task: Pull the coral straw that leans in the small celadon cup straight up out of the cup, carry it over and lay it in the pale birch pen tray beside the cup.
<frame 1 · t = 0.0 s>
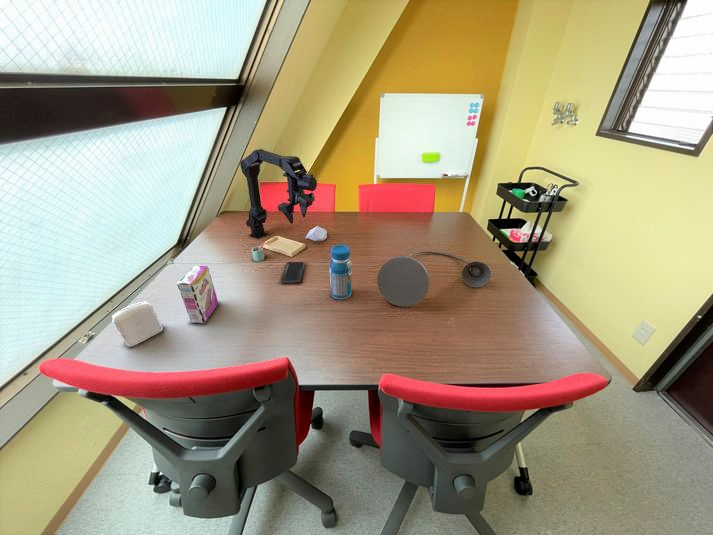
hand: (298, 220, 135), 15 cm above the table, tool pointing down, fingers open, 9 cm apart
cup: (258, 258, 134), on the table, touching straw
beverage bottle: (341, 294, 112), on the table
tray: (283, 247, 143), on the table
candy bar box: (206, 313, 102), on the table
phone: (293, 273, 124), on the table
photo printer: (145, 337, 92), on the table
crumpled paper: (317, 239, 152), on the table
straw: (259, 249, 130), point 5 cm above the table, touching cup
desk lamp: (436, 280, 121), on the table
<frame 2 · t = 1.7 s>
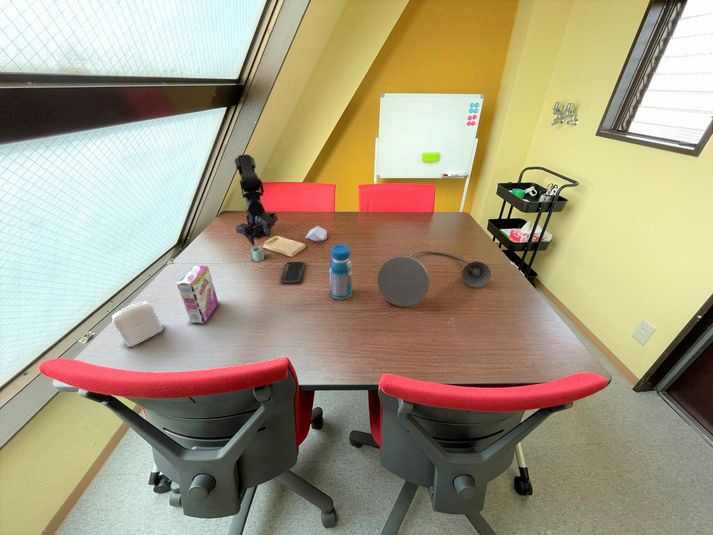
hand: (261, 240, 127), 10 cm above the table, tool pointing down, fingers open, 9 cm apart
nothing on the table moved.
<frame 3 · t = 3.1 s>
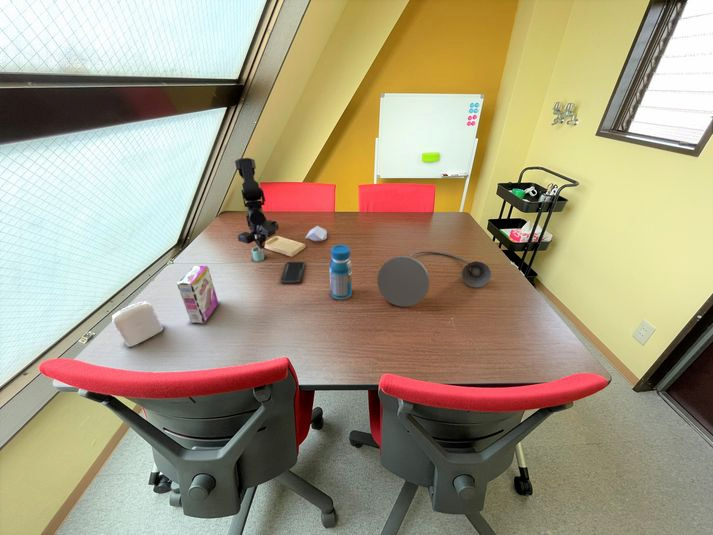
hand: (262, 248, 129), 6 cm above the table, tool pointing down, fingers closed on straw, 1 cm apart
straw: (259, 249, 130), point 5 cm above the table, touching cup, gripper
everything else where it was.
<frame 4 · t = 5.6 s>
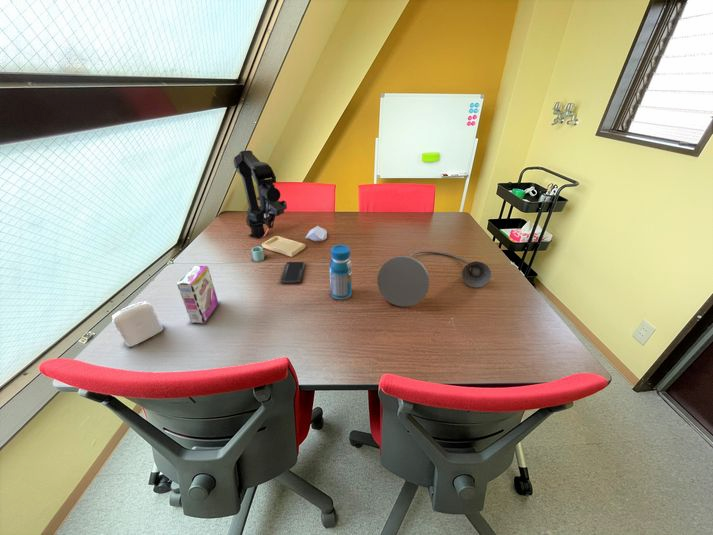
hand: (270, 228, 132), 13 cm above the table, tool pointing down, fingers closed on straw
cup: (258, 258, 134), on the table
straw: (268, 229, 133), point 12 cm above the table, touching gripper
everything else where it was.
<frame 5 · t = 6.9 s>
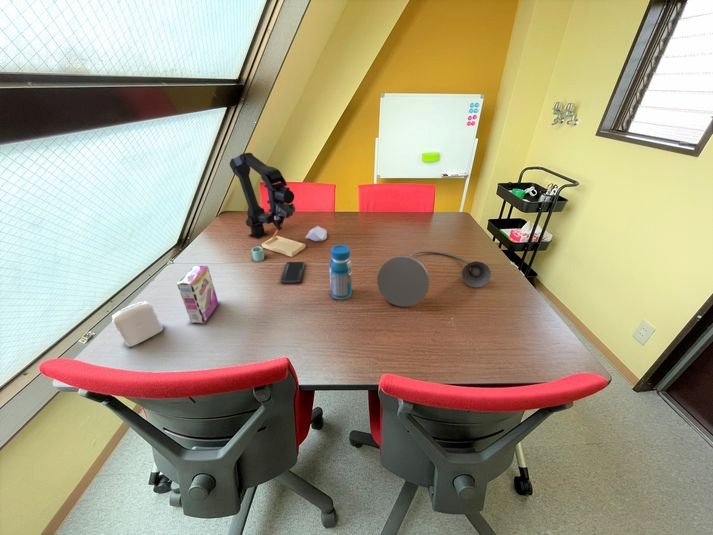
hand: (279, 229, 138), 9 cm above the table, tool pointing down, fingers closed on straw
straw: (277, 230, 140), point 8 cm above the table, touching gripper
everything else where it was.
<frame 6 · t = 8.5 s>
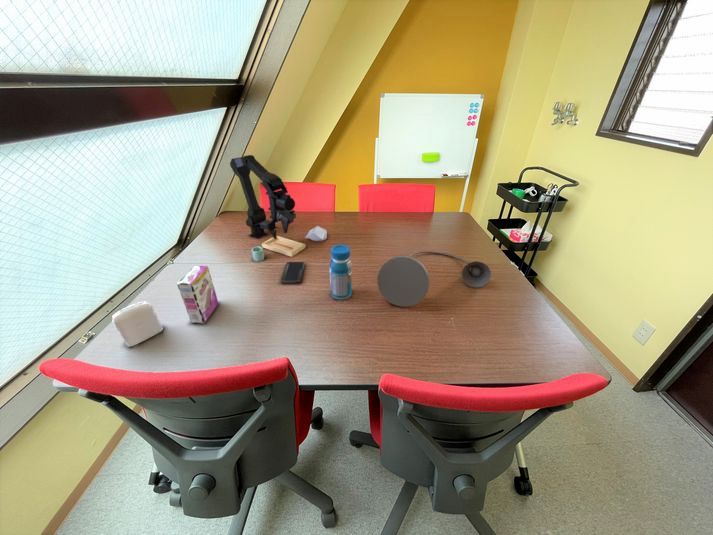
hand: (280, 235, 140), 6 cm above the table, tool pointing down, fingers open, 7 cm apart
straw: (283, 245, 143), point 1 cm above the table, tilted 54°, touching tray
everything else where it was.
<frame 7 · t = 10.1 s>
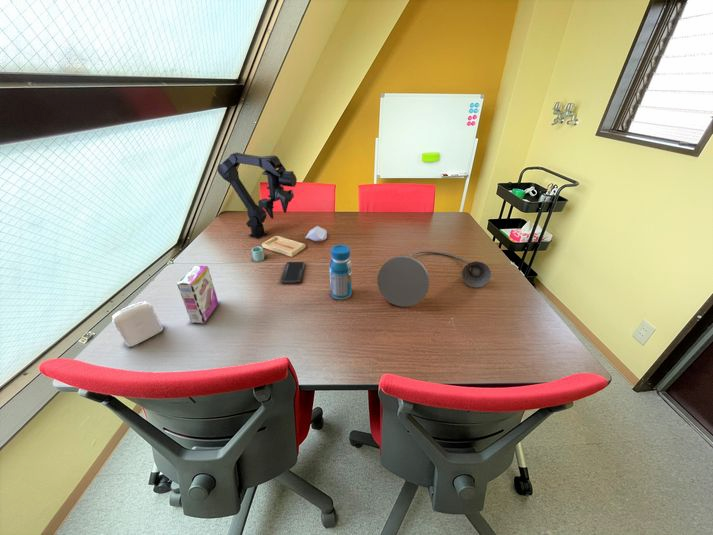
hand: (278, 215, 144), 13 cm above the table, tool pointing down, fingers open, 9 cm apart
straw: (284, 245, 143), point 1 cm above the table, tilted 63°, touching tray
everything else where it was.
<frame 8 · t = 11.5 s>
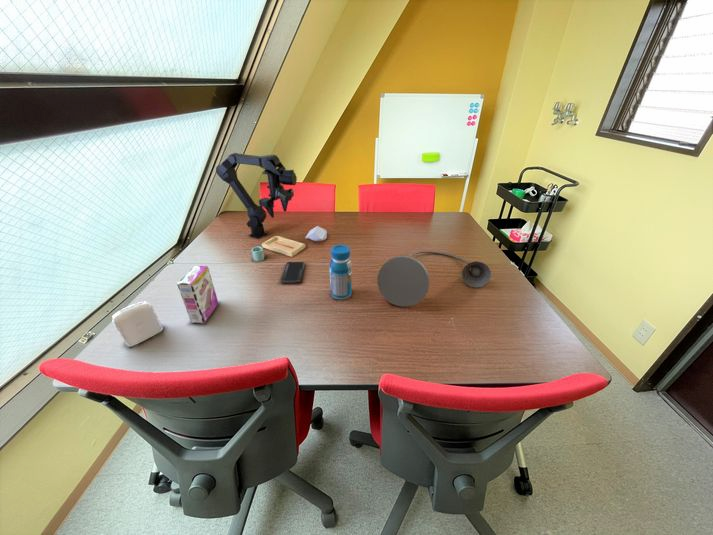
hand: (279, 214, 145), 13 cm above the table, tool pointing down, fingers open, 9 cm apart
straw: (284, 245, 143), point 1 cm above the table, tilted 77°, touching tray
everything else where it was.
at the end: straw inside the target area in the tray (0.5 cm from its centre), point 1.0 cm above the tray's base; the gripper is holding nothing; cup tilted 0° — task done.
